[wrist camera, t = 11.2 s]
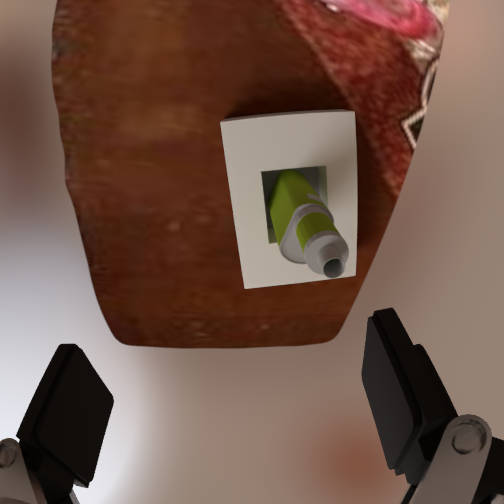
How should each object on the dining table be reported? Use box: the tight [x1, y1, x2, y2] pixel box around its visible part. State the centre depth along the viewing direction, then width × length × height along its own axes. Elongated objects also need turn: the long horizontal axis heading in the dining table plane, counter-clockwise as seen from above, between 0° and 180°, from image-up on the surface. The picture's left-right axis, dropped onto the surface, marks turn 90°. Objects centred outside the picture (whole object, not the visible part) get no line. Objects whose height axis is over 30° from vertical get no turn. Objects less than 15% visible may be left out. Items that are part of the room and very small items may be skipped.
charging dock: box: [220, 109, 357, 289], centre depth 38 cm, size 20×14×5 cm
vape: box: [267, 169, 349, 279], centre depth 30 cm, size 4×6×20 cm, turn 159°
